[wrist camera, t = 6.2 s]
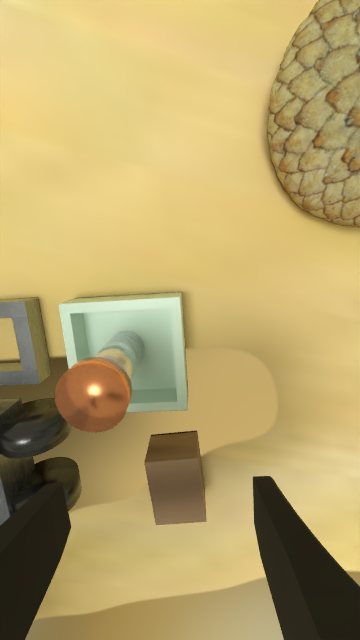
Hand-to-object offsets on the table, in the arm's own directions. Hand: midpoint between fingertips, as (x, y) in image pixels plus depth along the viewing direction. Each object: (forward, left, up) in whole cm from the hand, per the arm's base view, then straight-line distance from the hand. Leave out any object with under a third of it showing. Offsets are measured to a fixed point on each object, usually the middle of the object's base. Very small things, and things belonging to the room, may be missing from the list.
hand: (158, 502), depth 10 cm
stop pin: (+3, +3, -9) cm, 10 cm away
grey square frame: (+4, +12, -10) cm, 16 cm away
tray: (+3, +3, -10) cm, 11 cm away
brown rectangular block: (-6, 0, -10) cm, 12 cm away
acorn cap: (+16, -12, -10) cm, 22 cm away
